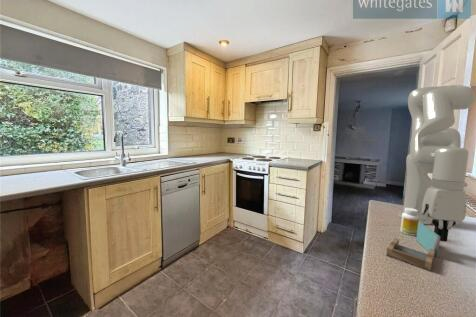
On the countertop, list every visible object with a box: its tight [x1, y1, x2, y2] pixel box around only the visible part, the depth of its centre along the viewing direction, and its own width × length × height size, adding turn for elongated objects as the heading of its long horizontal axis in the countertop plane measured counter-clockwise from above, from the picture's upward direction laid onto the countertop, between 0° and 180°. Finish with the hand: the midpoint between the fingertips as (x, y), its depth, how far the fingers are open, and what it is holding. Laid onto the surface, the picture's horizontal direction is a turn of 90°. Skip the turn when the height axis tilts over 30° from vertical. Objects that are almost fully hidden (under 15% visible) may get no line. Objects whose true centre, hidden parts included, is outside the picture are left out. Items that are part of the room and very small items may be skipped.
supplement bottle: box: [399, 208, 419, 237], centre depth 83 cm, size 5×5×10 cm
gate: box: [416, 222, 441, 259], centre depth 71 cm, size 1×12×7 cm, turn 162°
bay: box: [386, 237, 435, 272], centre depth 67 cm, size 10×10×2 cm
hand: (440, 239), depth 70 cm, fingers closed
